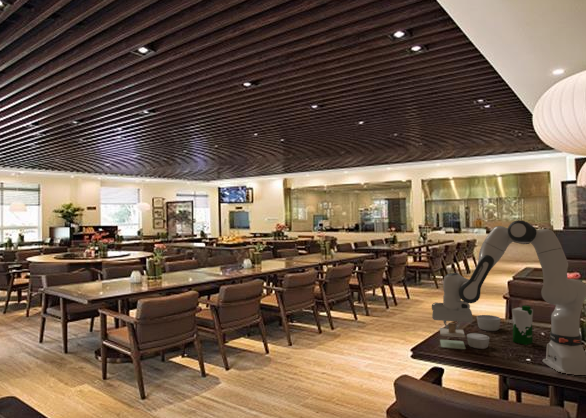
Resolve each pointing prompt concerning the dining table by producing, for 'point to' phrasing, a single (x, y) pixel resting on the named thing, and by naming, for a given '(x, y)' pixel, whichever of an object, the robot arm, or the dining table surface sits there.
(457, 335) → the cover
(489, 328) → the ramekin
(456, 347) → the mat
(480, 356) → the dining table surface
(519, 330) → the milk carton
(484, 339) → the ramekin
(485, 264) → the robot arm
